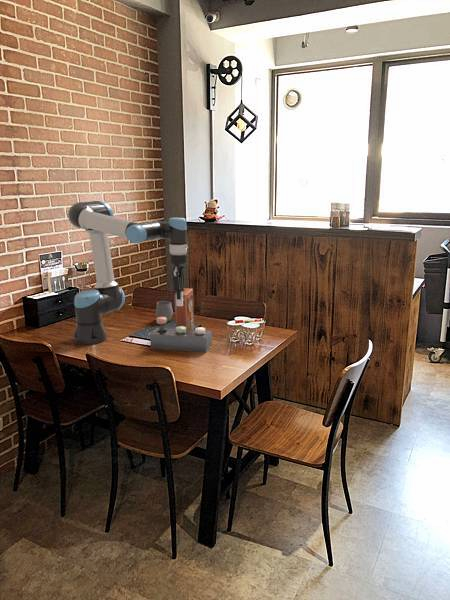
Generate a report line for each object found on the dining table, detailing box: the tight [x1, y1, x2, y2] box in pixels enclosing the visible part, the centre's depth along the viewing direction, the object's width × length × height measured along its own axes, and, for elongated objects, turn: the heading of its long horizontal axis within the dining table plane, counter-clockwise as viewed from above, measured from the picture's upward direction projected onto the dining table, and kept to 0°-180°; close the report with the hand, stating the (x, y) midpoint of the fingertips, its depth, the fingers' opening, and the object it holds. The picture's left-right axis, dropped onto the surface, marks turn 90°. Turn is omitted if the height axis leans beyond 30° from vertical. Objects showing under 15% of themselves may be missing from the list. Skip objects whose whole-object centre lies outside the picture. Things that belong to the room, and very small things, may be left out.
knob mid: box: [175, 326, 186, 334], centre depth 228 cm, size 5×5×8 cm
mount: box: [149, 327, 213, 353], centre depth 228 cm, size 26×10×7 cm, turn 78°
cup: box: [155, 300, 174, 322], centre depth 269 cm, size 10×9×10 cm
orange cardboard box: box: [174, 287, 195, 330], centre depth 246 cm, size 21×7×15 cm
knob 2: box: [194, 326, 206, 335], centre depth 226 cm, size 5×5×8 cm
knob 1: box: [155, 317, 168, 333], centre depth 228 cm, size 5×5×8 cm
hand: (179, 305), depth 224 cm, fingers closed
